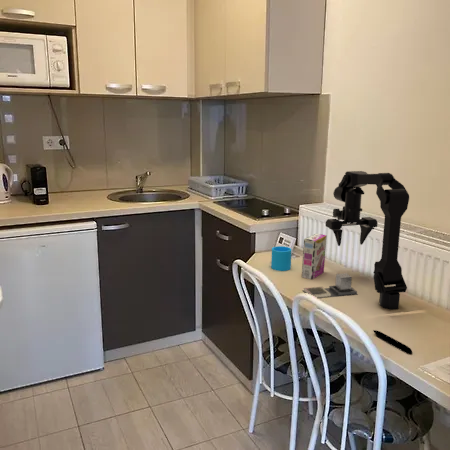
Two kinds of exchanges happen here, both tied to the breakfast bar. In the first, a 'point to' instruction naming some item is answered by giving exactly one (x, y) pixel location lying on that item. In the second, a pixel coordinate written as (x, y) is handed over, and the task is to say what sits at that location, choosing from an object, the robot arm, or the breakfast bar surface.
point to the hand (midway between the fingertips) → (350, 245)
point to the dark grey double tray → (328, 292)
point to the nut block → (343, 282)
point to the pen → (393, 342)
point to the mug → (281, 258)
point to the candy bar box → (313, 256)
